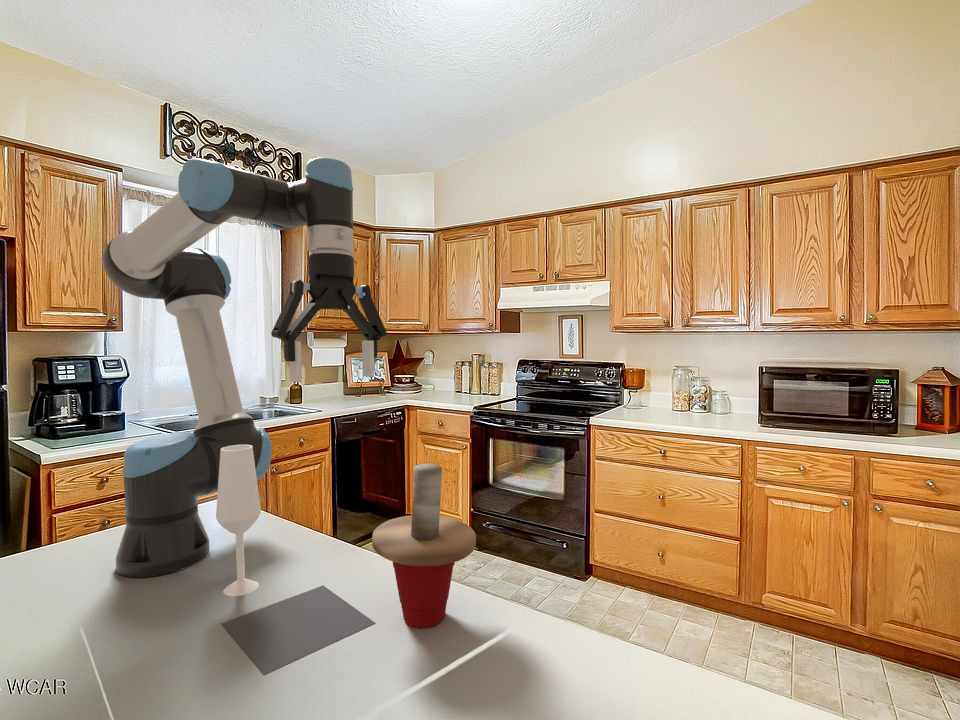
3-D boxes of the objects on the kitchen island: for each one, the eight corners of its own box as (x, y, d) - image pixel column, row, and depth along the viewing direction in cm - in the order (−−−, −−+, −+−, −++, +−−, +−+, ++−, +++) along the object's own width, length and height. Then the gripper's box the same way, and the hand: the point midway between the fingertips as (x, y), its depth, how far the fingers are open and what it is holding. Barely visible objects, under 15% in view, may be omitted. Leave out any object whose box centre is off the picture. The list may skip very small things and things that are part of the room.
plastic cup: (436, 651, 68) (435, 563, 67) (373, 630, 73) (371, 548, 72) (475, 612, 78) (474, 534, 77) (416, 595, 83) (415, 522, 82)
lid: (352, 536, 75) (355, 463, 74) (432, 513, 85) (435, 449, 84) (413, 578, 64) (418, 492, 63) (496, 545, 75) (501, 472, 74)
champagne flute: (263, 577, 89) (258, 442, 88) (263, 595, 83) (258, 449, 82) (220, 585, 87) (215, 445, 86) (217, 604, 80) (211, 453, 79)
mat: (220, 626, 74) (220, 623, 74) (323, 588, 85) (323, 585, 85) (264, 678, 63) (264, 674, 63) (375, 626, 74) (375, 623, 74)
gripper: (266, 242, 76) (270, 385, 77) (404, 259, 93) (406, 375, 94) (247, 249, 81) (251, 382, 82) (381, 263, 98) (383, 373, 99)
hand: (334, 379), depth 88 cm, fingers open, 13 cm apart
